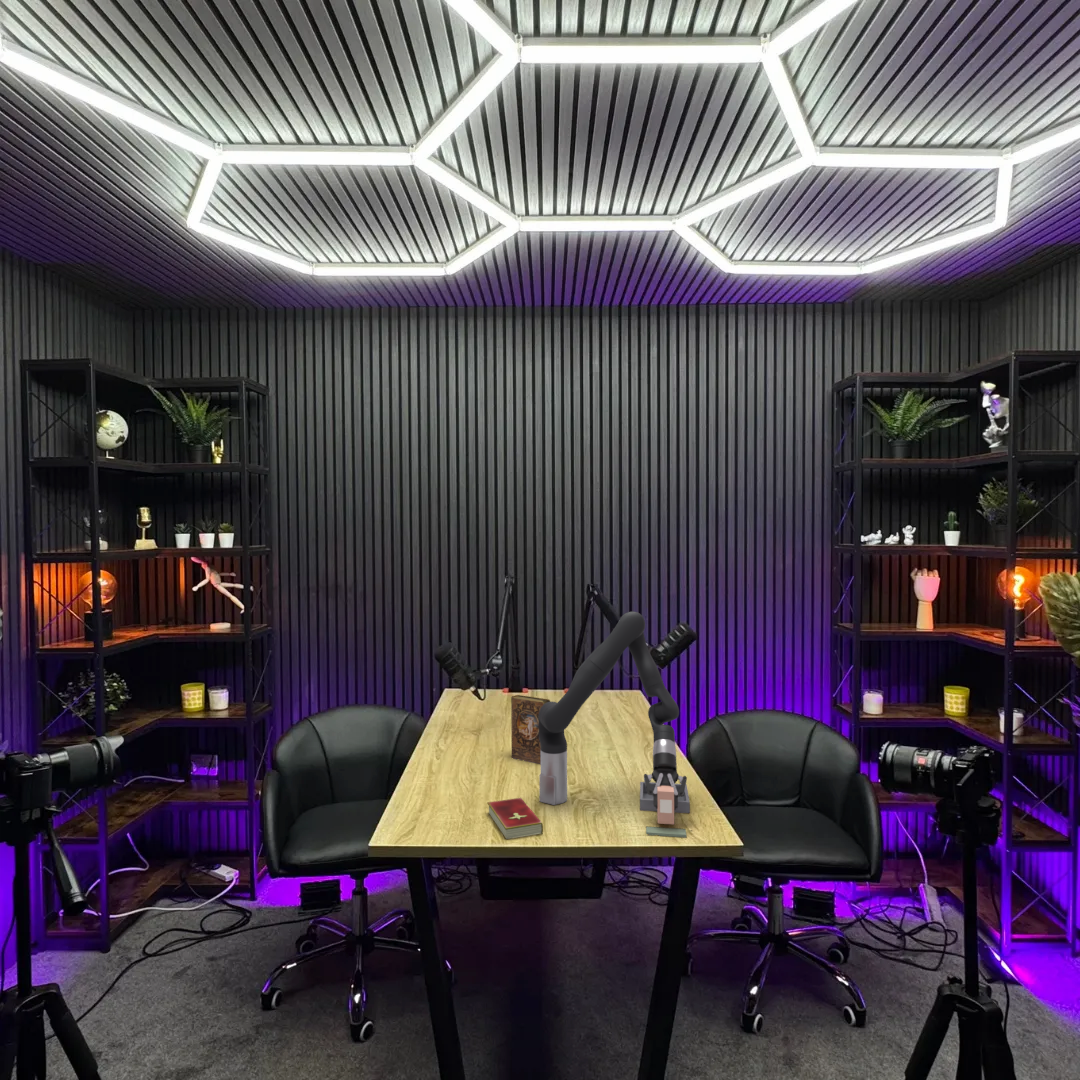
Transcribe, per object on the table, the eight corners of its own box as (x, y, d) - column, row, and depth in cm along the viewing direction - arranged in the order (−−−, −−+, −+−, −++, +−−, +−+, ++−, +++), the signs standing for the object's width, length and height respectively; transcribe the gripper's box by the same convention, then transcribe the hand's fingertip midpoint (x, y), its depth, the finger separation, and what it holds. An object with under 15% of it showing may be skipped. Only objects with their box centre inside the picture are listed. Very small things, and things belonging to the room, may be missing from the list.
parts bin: (689, 816, 218) (689, 802, 218) (639, 813, 220) (639, 799, 220) (686, 797, 234) (686, 784, 233) (640, 794, 236) (640, 781, 236)
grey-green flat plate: (686, 837, 202) (686, 834, 202) (646, 834, 204) (646, 832, 204) (684, 820, 214) (684, 818, 214) (646, 818, 216) (646, 816, 216)
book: (509, 758, 275) (509, 697, 275) (516, 754, 280) (516, 694, 280) (543, 764, 267) (543, 702, 267) (550, 760, 272) (550, 699, 271)
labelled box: (674, 824, 206) (674, 792, 206) (657, 823, 207) (657, 791, 207) (673, 817, 211) (673, 786, 211) (657, 816, 212) (657, 785, 212)
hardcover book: (521, 809, 225) (521, 796, 225) (543, 835, 205) (543, 821, 205) (487, 814, 221) (487, 801, 221) (505, 841, 201) (505, 827, 201)
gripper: (642, 750, 217) (642, 801, 206) (687, 752, 215) (690, 804, 203) (642, 761, 223) (642, 811, 211) (686, 763, 221) (688, 814, 209)
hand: (665, 808), depth 207 cm, fingers closed on labelled box, 5 cm apart
